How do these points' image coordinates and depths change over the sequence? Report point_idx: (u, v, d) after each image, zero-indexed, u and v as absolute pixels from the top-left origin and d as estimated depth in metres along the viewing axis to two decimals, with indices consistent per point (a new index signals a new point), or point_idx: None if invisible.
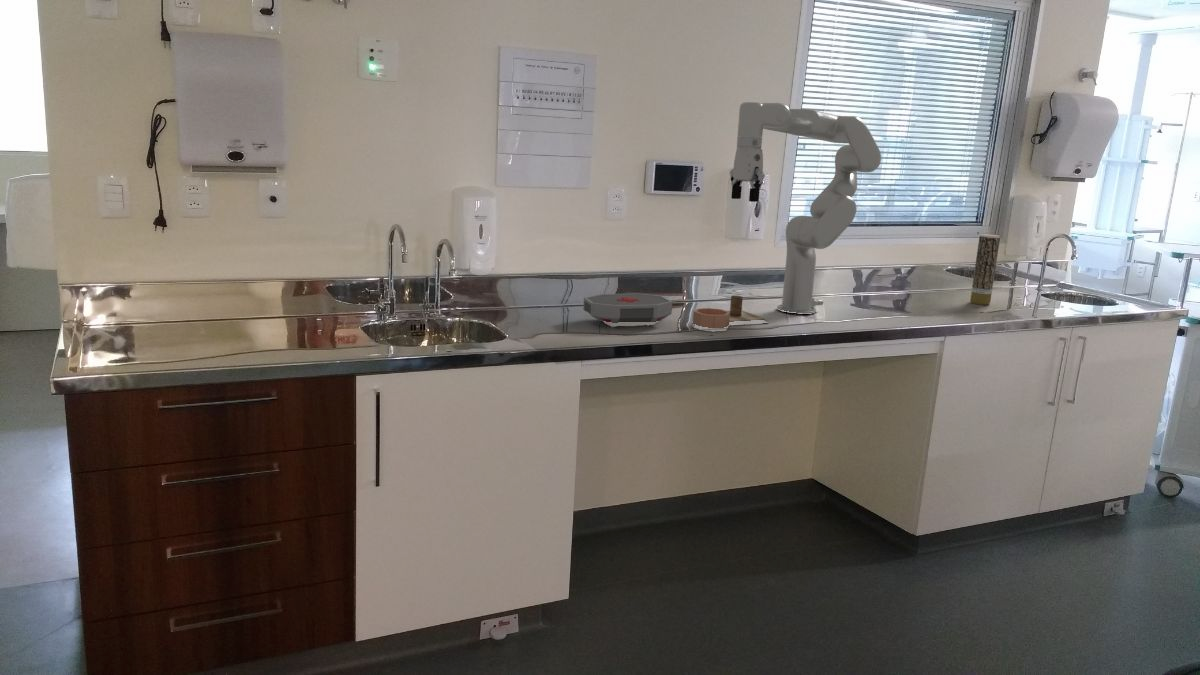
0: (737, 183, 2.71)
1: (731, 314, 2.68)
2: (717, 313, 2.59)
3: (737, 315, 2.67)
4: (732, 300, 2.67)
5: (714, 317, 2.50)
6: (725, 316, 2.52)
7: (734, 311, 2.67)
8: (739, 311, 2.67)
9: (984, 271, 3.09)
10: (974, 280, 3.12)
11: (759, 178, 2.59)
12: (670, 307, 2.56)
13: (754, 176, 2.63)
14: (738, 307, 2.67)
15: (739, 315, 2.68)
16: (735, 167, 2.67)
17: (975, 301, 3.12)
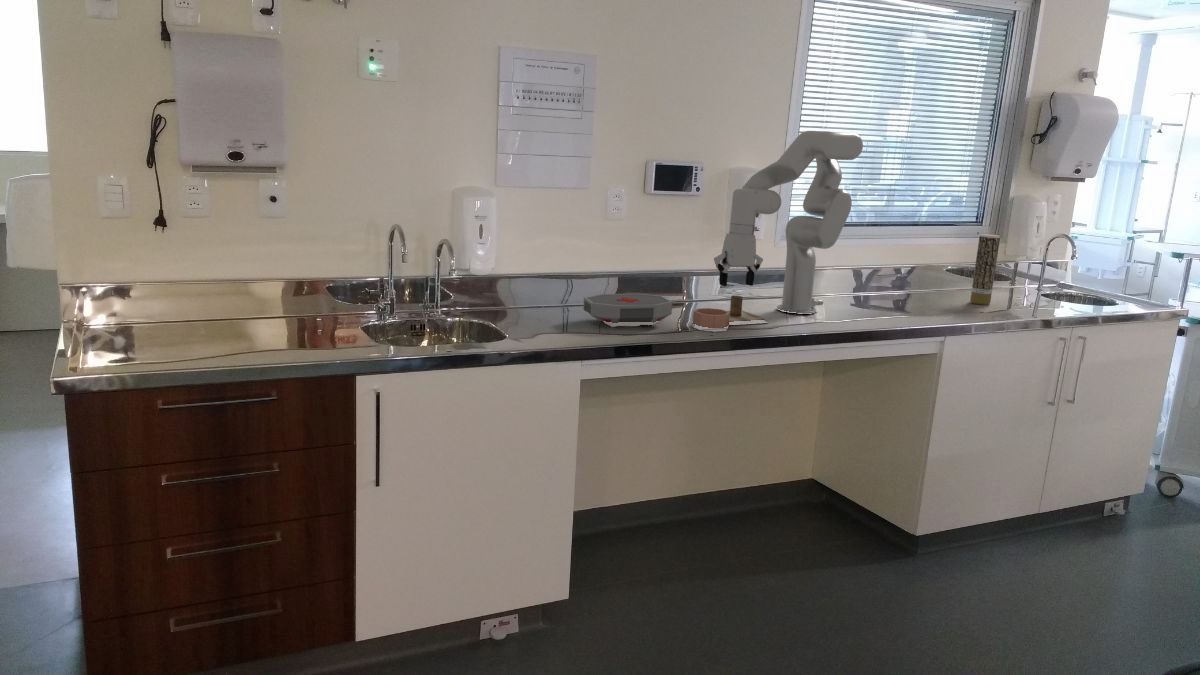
0: None
1: (731, 314, 2.68)
2: (717, 313, 2.59)
3: (737, 315, 2.67)
4: (732, 300, 2.67)
5: (714, 317, 2.50)
6: (725, 316, 2.52)
7: (734, 311, 2.67)
8: (739, 311, 2.67)
9: (984, 271, 3.09)
10: (974, 280, 3.12)
11: (760, 262, 2.67)
12: (670, 307, 2.56)
13: None
14: (738, 307, 2.67)
15: (739, 315, 2.68)
16: (734, 254, 2.61)
17: (975, 301, 3.12)
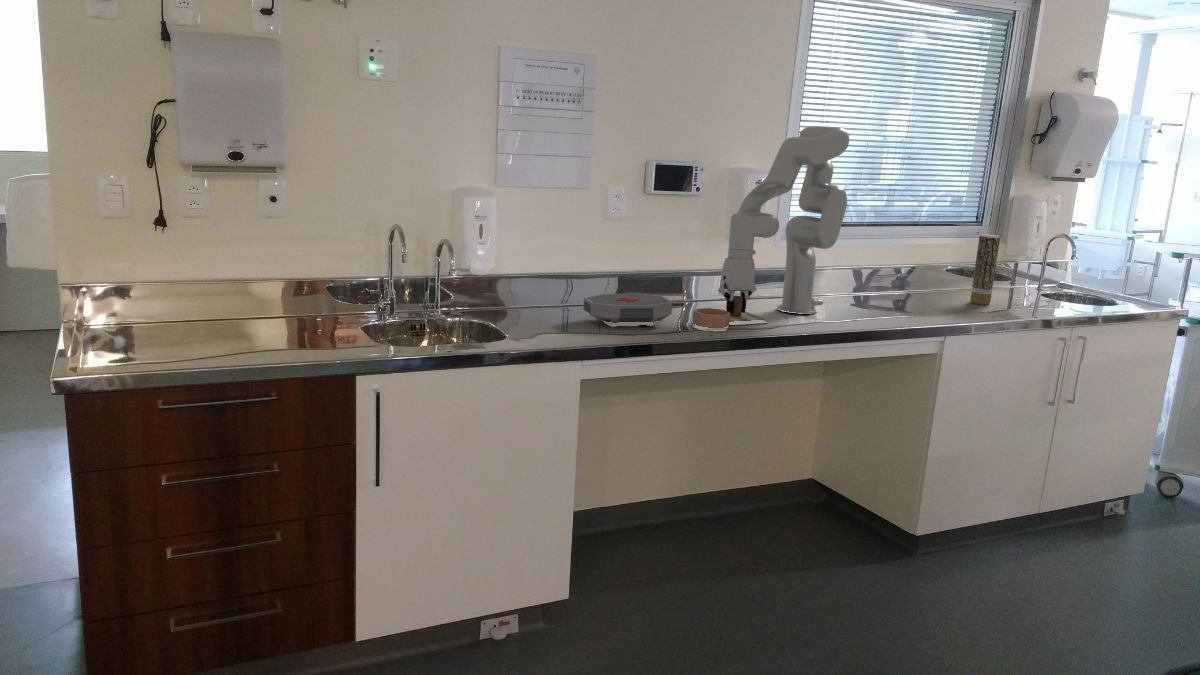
0: None
1: (731, 314, 2.68)
2: (717, 313, 2.59)
3: (737, 315, 2.67)
4: None
5: (714, 317, 2.50)
6: (725, 316, 2.52)
7: (734, 311, 2.67)
8: (739, 311, 2.67)
9: (984, 271, 3.09)
10: (974, 280, 3.12)
11: (753, 291, 2.69)
12: (670, 307, 2.56)
13: None
14: (738, 307, 2.67)
15: (739, 315, 2.68)
16: (733, 279, 2.63)
17: (975, 301, 3.12)
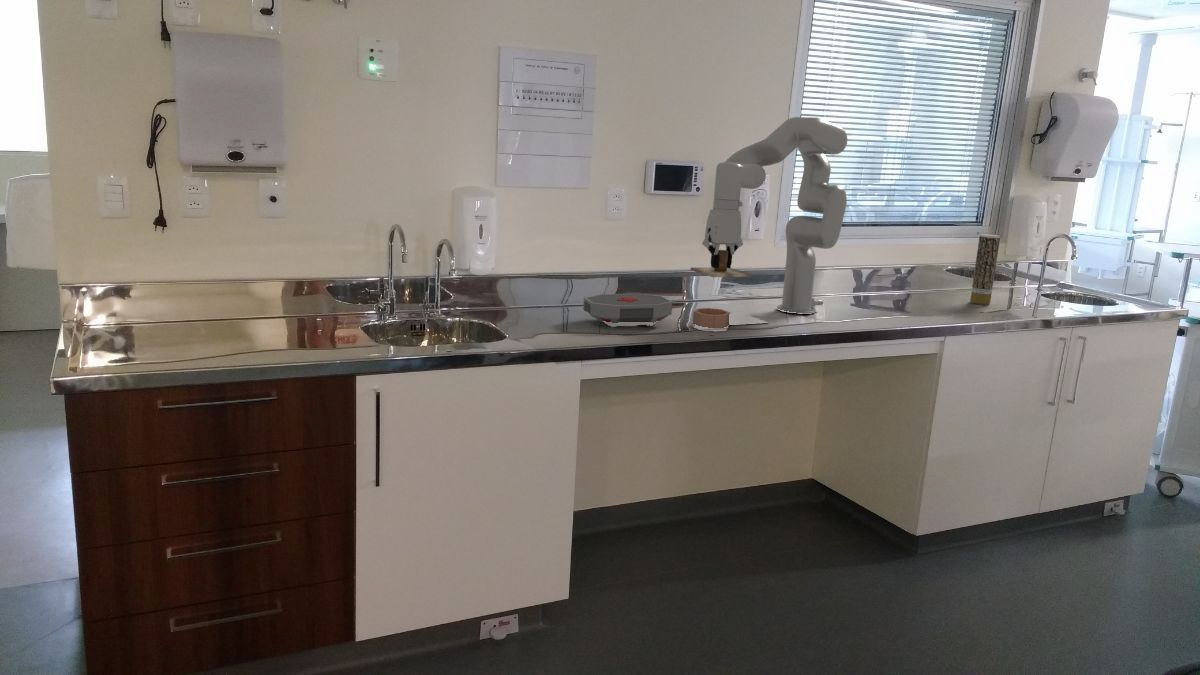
0: None
1: (716, 269, 2.55)
2: (717, 313, 2.59)
3: (722, 270, 2.54)
4: None
5: (714, 317, 2.50)
6: (725, 316, 2.52)
7: (719, 266, 2.54)
8: (724, 266, 2.54)
9: (984, 271, 3.09)
10: (974, 280, 3.12)
11: (739, 245, 2.56)
12: (670, 307, 2.56)
13: None
14: (723, 261, 2.54)
15: (724, 270, 2.54)
16: (718, 231, 2.50)
17: (975, 301, 3.12)
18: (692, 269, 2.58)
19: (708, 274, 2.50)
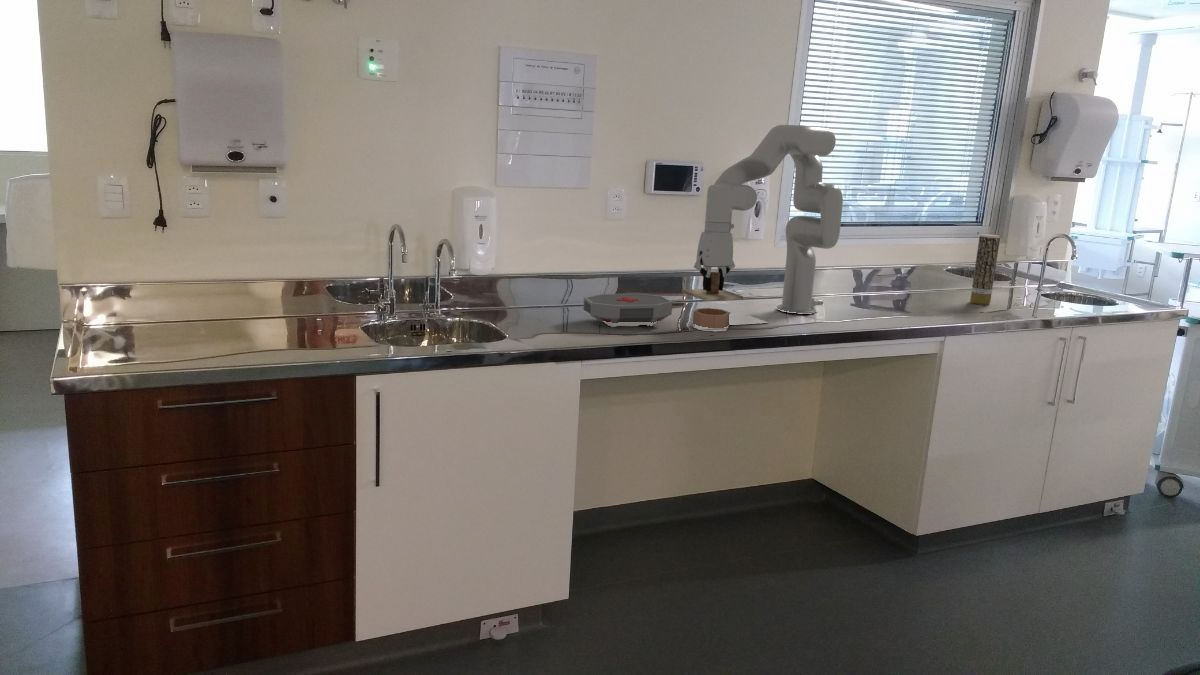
0: None
1: (708, 292, 2.53)
2: (717, 313, 2.59)
3: (714, 293, 2.52)
4: None
5: (714, 317, 2.50)
6: (725, 316, 2.52)
7: (711, 288, 2.52)
8: (716, 288, 2.52)
9: (984, 271, 3.09)
10: (974, 280, 3.12)
11: (731, 267, 2.54)
12: (670, 307, 2.55)
13: None
14: (715, 284, 2.52)
15: (716, 293, 2.52)
16: (710, 254, 2.48)
17: (975, 301, 3.12)
18: (684, 291, 2.56)
19: (700, 297, 2.48)
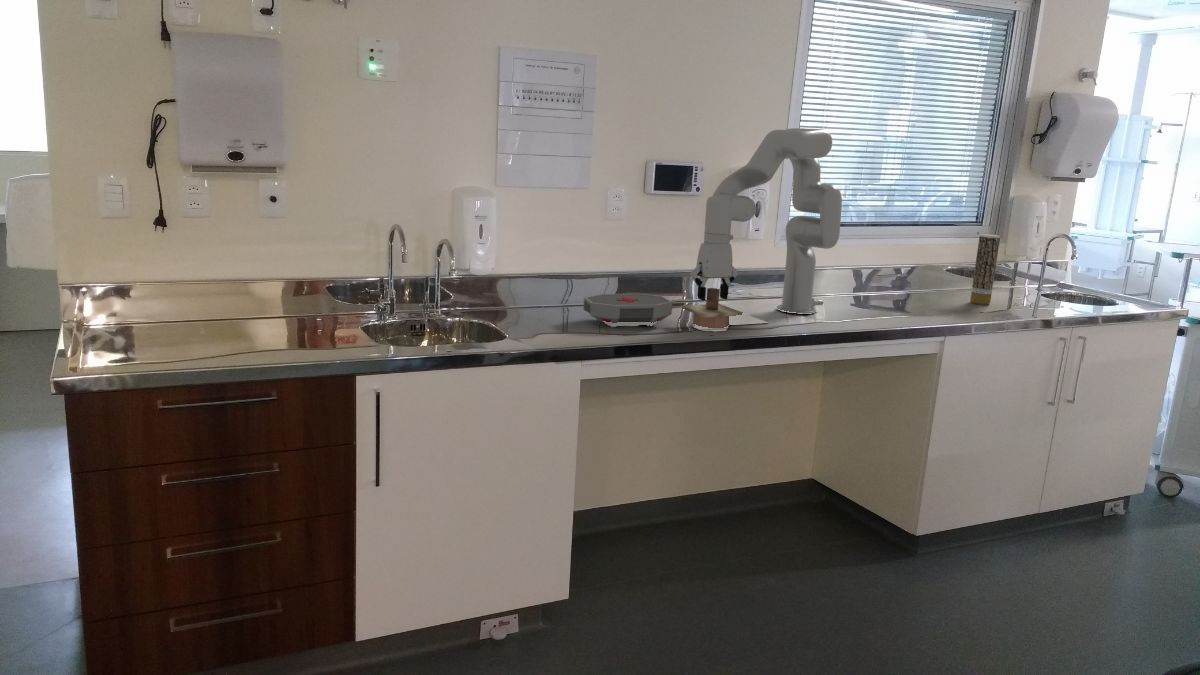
0: None
1: (707, 308, 2.54)
2: None
3: (713, 309, 2.54)
4: (708, 293, 2.53)
5: (714, 317, 2.50)
6: (725, 316, 2.52)
7: (710, 304, 2.53)
8: (716, 304, 2.53)
9: (984, 271, 3.09)
10: (974, 280, 3.12)
11: (735, 275, 2.55)
12: (670, 307, 2.55)
13: None
14: (714, 300, 2.53)
15: (716, 309, 2.54)
16: (710, 265, 2.49)
17: (975, 301, 3.12)
18: (683, 307, 2.57)
19: (699, 314, 2.49)
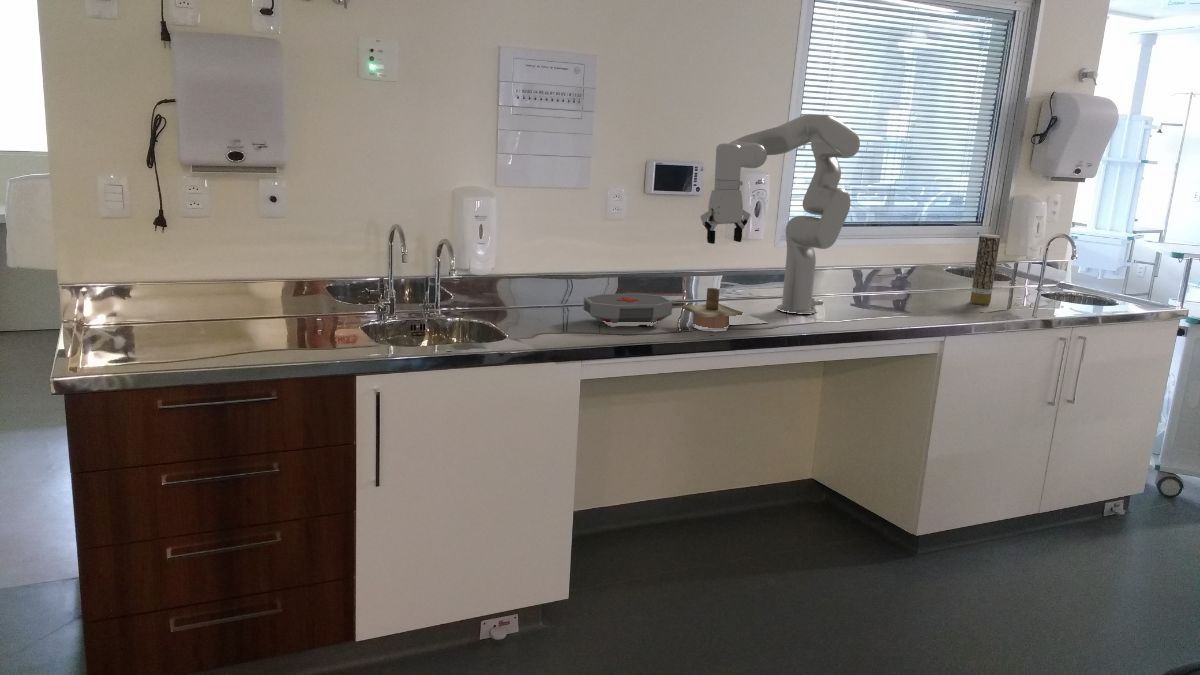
0: None
1: (707, 308, 2.54)
2: None
3: (713, 309, 2.54)
4: (708, 293, 2.53)
5: (714, 317, 2.50)
6: (725, 316, 2.52)
7: (710, 304, 2.53)
8: (716, 304, 2.53)
9: (984, 271, 3.09)
10: (974, 280, 3.12)
11: (747, 217, 2.63)
12: (670, 307, 2.55)
13: None
14: (714, 300, 2.53)
15: (716, 309, 2.54)
16: (721, 211, 2.56)
17: (975, 301, 3.12)
18: (683, 307, 2.57)
19: (699, 314, 2.49)
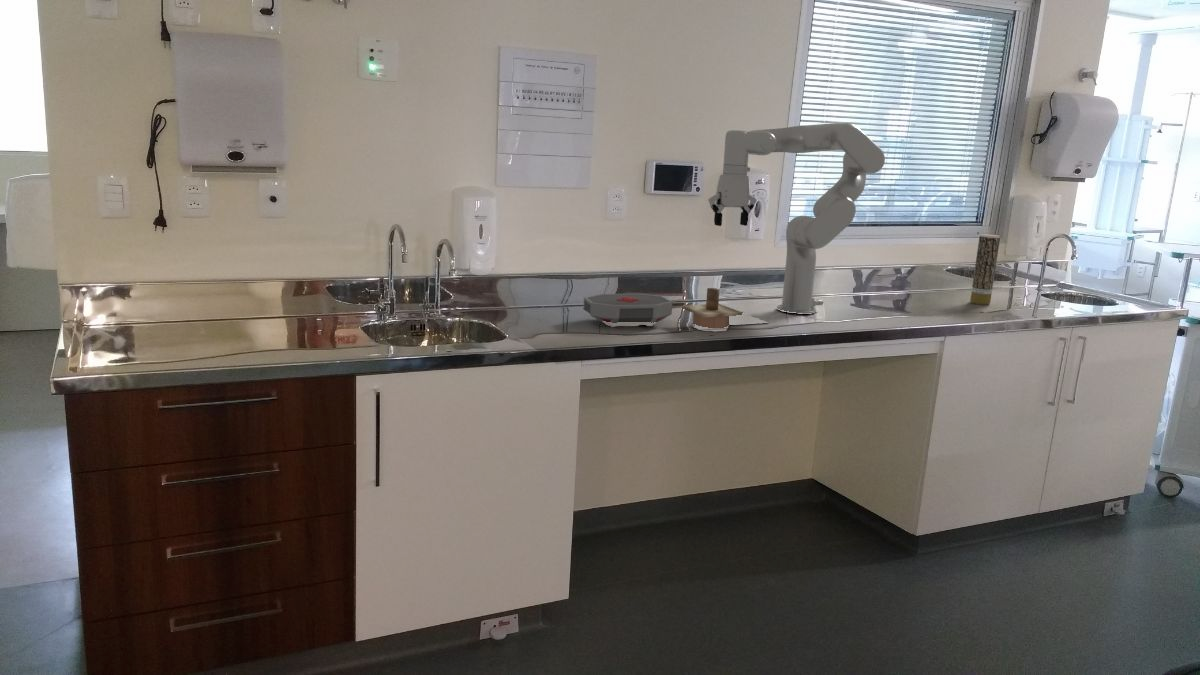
0: None
1: (707, 308, 2.54)
2: None
3: (713, 309, 2.54)
4: (708, 293, 2.53)
5: (714, 317, 2.50)
6: (725, 316, 2.52)
7: (710, 304, 2.53)
8: (716, 304, 2.53)
9: (984, 271, 3.09)
10: (974, 280, 3.12)
11: (753, 202, 2.75)
12: (670, 307, 2.55)
13: None
14: (714, 300, 2.53)
15: (716, 309, 2.54)
16: (728, 194, 2.68)
17: (975, 301, 3.12)
18: (683, 307, 2.57)
19: (699, 314, 2.49)
